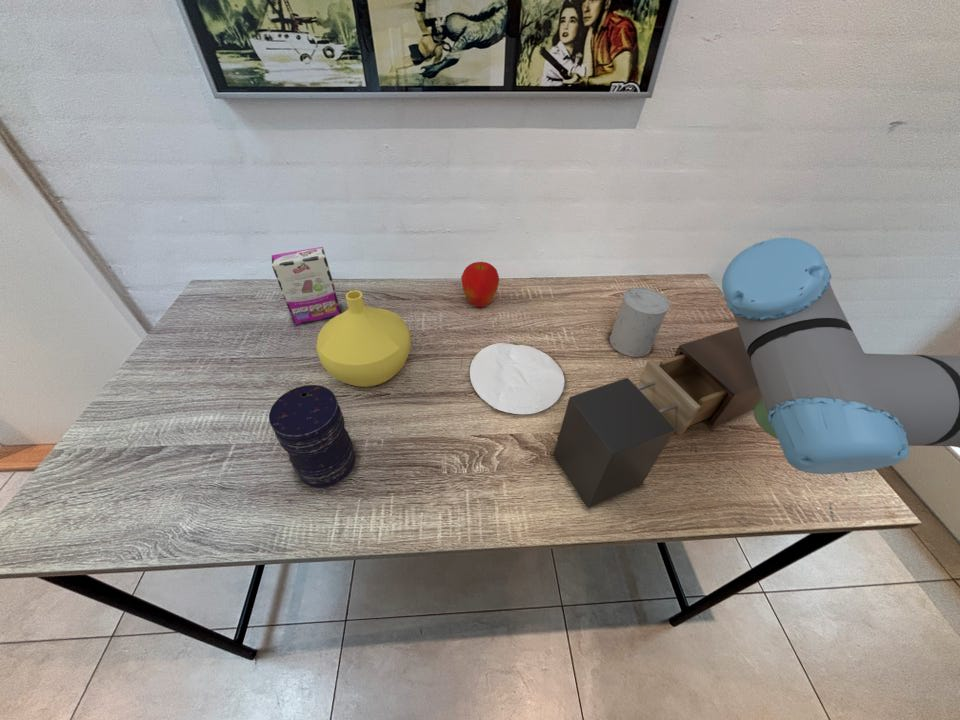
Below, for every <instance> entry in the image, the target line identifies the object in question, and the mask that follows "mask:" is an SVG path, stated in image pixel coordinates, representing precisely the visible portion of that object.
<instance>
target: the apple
mask: <svg viewBox="0 0 960 720" xmlns="http://www.w3.org/2000/svg"><path fill="white" fill-rule="evenodd" d="M460 279H461V286H462V291H463V294H464V296H465V298H466V300H467V301H468V303H469V304H471V305H472V306H473V307H476V308H485V307H486V306H488V305H489V304H491V303H492V302H493V300H494V297H495V296H496V294H497V291H498V287H499V284H500V277H499V273H498V270H497V269H496V268H495V266H494V265H492V264H491V263H489V262H485V261H475V262H472V263H470V264H468V265H467V266H466V267H465V268H464V270H463V272H462V275H461V278H460Z"/></svg>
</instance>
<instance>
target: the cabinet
mask: <svg viewBox="0 0 960 720" xmlns="http://www.w3.org/2000/svg"><path fill="white" fill-rule="evenodd" d="M682 354H685V355H686V356H687V357H688V358H689V359H690V360H691V361H692V362H694V363H695V364H696V365H697V366H698V367H699V368H700V369H701V370H703V371H704V372H705V373H706V374H707V375H708V376H709V377H710V378H712V379H713V380H714V381H715V382H716V383H717V384H718V385H719V386H721V387H722V388H723V389H724V390H725V391H726V392H727V393H728V394H729V395H728V396H727V397H726V399H725V400H724V402H723V403H722V405H721V406H720V408H719V409H718V410H717V412H716V413H715V415H714V416H712V417H710V418H707V419H705V420H704V422H705V423H707V425H708V426H709V427H710V428H713V427H715V426H718V425H720V424H723V423H726V422H728V421H731V420H732V419H735V418H737V417H739V416H742V415H745V414H747V413H750V412H752V411H754V408H755V406H756V405H757V404H758V403H759V401H760V400H761V399H762V395H761V392H760V389H759V385H758V382H757V379H756V376H755V373H754V370H753V367H752V364H751V361H750V357H749V355H748V354H747V352H746V349H745V346H744V343H743V340H742V337H741V334H740V331H739V328H738V326H735V327H732V328H729V329H726V330H723V331H719V332H717V333H714V334H710V335H707V336H704V337H701V338H698V339H695V340H692V341H689V342H686V343H682V344H680V345H678V347H677V350H676V352H675V353H674V355H673V357H676V356H679V355H682Z"/></svg>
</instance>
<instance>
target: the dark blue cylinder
mask: <svg viewBox="0 0 960 720" xmlns="http://www.w3.org/2000/svg"><path fill="white" fill-rule="evenodd" d="M268 421H269V425H270V426H271V428H272V430H273V433H274V435H275V437H276V439H277V441H278V443H279V444H280V446H281V448H282V449H283V450H284V452H285V451H286V452H287V454H288V457H289V461H290V463H291V466H292V468H293V470H294V471H295V473H296V474H297V476H298V477H299V479H300V481H301V482H302V483H303V484H304V485H306V486H307V487H309V488H313V489H318V490H319V489H321V490H322V489H328V488H329V489H330V488H331V487H335V486H336V485H339V484H341V483H342V482H344V481H345V480H346V479H347V478H348V477H349V476H350V474H351V473H352V472H353V470H354V467H355V465H356V462H357V457H356V452H355V450H354V444H353V442H352V438H351V437H350V434H349V432H348V431H347V429H346V428H345V426H346V425H345V424H346V423H345V418H344V414H343V411H342V409H341V406H340V405H339V401H338V399H337V396H336V394H335V393H334V391H332V390H331V389H330V388H328V387H326V386H322V385H319V384H307V385H301V386H298V387H294V388H292V389H289V390H288V391H286V392H285V393H283V394H281V396H279V397H278V398H277V399H276V400H275V402H274V403H273V404H272V406H271V408H270V410H269V414H268Z"/></svg>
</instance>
